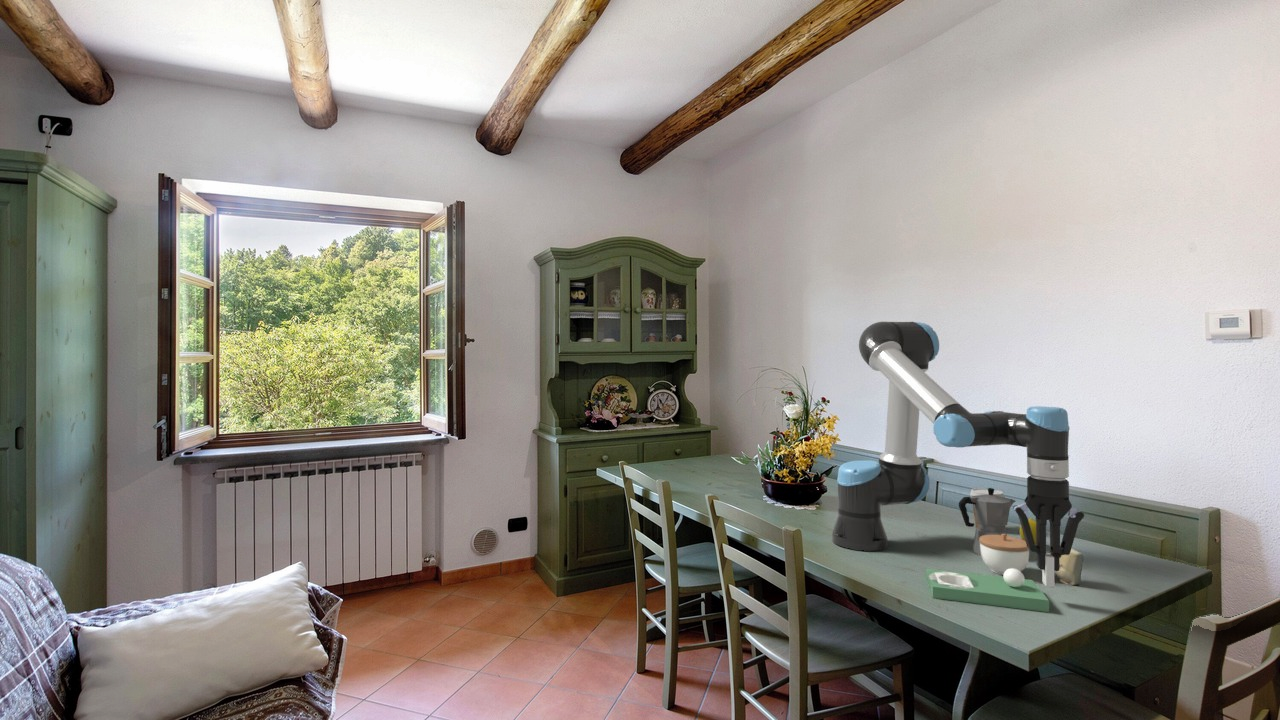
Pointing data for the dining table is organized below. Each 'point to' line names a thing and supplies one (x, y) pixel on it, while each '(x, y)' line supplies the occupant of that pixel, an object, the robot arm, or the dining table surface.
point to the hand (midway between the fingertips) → (1048, 584)
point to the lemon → (1033, 529)
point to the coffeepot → (987, 515)
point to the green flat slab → (985, 590)
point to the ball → (1013, 577)
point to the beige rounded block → (1071, 568)
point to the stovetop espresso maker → (983, 492)
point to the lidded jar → (1004, 552)
